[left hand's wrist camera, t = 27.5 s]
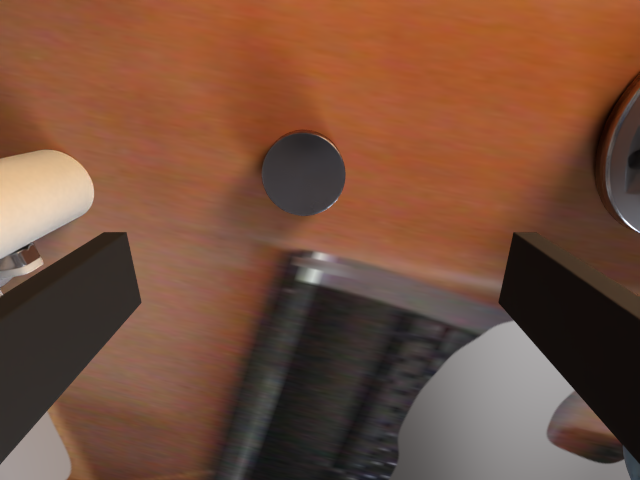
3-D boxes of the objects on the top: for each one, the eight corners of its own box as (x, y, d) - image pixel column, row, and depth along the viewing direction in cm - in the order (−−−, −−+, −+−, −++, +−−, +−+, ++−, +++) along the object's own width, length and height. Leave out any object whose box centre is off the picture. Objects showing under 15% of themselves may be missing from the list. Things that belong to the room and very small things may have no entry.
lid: (346, 132, 26) (349, 135, 24) (338, 209, 28) (341, 218, 26) (266, 126, 26) (262, 129, 24) (264, 204, 28) (261, 213, 26)
